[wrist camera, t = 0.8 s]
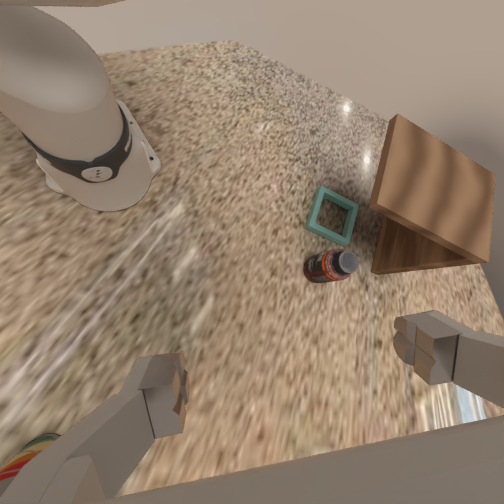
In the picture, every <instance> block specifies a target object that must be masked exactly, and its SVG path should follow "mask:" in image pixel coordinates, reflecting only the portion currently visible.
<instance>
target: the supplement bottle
mask: <svg viewBox="0 0 504 504" xmlns="http://www.w3.org/2000/svg"><path fill="white" fill-rule="evenodd" d="M357 268H358V259H357V257H356V255H355V254H354V253H353V252H351V251H344V250H342V249H333V250H329V251H326V252H324V253H320V254H317V255H314V256H312V257H310V258H308V259H307V261H306V262H305V264H304V272H305V275H306V277H307V278H308V279H309V280H310V281H312V282H314V283H323V282H331V281H339V280H344V279H346V278H348V277H349V276H350V274H351V273H353V272H355V271H356V270H357Z"/></svg>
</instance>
